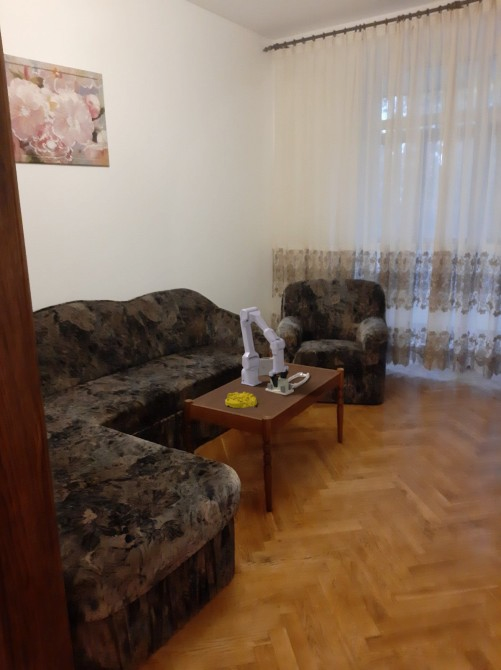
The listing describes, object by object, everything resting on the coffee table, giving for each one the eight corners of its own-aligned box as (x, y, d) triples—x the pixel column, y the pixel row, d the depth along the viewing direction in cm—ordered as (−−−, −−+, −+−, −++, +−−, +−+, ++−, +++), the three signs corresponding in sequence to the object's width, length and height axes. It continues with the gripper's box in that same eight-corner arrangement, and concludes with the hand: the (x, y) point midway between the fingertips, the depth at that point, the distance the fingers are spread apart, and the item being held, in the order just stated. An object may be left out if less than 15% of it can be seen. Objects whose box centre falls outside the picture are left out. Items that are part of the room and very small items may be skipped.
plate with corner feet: (265, 390, 273) (265, 383, 272) (273, 386, 278) (273, 380, 277) (285, 395, 264) (285, 388, 263) (293, 391, 269) (293, 384, 268)
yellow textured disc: (223, 409, 250) (223, 401, 249) (227, 397, 266) (226, 390, 265) (256, 408, 249) (256, 400, 248) (258, 397, 265) (257, 389, 264)
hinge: (278, 371, 306) (277, 355, 304) (280, 374, 301) (280, 358, 299) (256, 374, 303) (255, 358, 300) (258, 376, 298) (258, 360, 295)
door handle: (313, 376, 294) (296, 390, 272) (297, 375, 298) (280, 388, 277) (313, 372, 293) (296, 385, 272) (297, 370, 298) (280, 383, 276)
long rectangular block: (270, 388, 273) (270, 377, 272) (274, 386, 275) (273, 376, 274) (285, 391, 266) (284, 380, 265) (288, 390, 269) (288, 379, 267)
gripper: (275, 365, 260) (276, 390, 263) (292, 359, 270) (293, 383, 273) (265, 363, 264) (266, 388, 267) (282, 357, 275) (283, 380, 278)
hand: (279, 385), depth 270 cm, fingers open, 6 cm apart
